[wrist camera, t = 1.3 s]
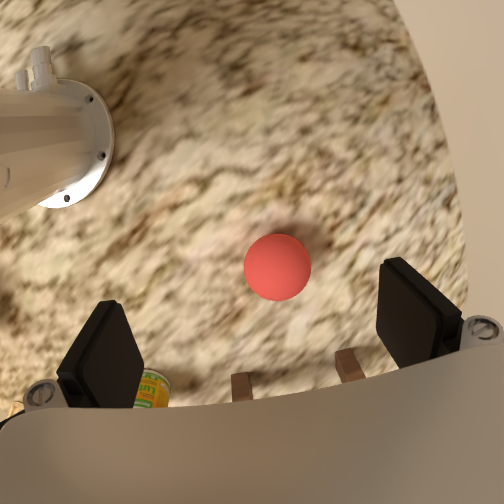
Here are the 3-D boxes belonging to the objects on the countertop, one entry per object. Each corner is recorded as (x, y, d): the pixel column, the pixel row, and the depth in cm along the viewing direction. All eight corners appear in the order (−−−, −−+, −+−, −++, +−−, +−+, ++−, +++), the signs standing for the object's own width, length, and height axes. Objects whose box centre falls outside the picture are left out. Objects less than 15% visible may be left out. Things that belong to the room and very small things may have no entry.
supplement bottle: (162, 365, 36) (150, 427, 27) (176, 394, 38) (169, 454, 29) (123, 370, 36) (104, 429, 27) (139, 398, 38) (127, 455, 29)
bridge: (230, 375, 37) (234, 438, 28) (350, 347, 37) (379, 403, 28) (236, 390, 38) (240, 451, 29) (350, 364, 38) (376, 419, 29)
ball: (236, 232, 30) (238, 256, 25) (298, 219, 30) (314, 240, 25) (248, 287, 32) (253, 320, 27) (305, 274, 32) (321, 305, 27)
